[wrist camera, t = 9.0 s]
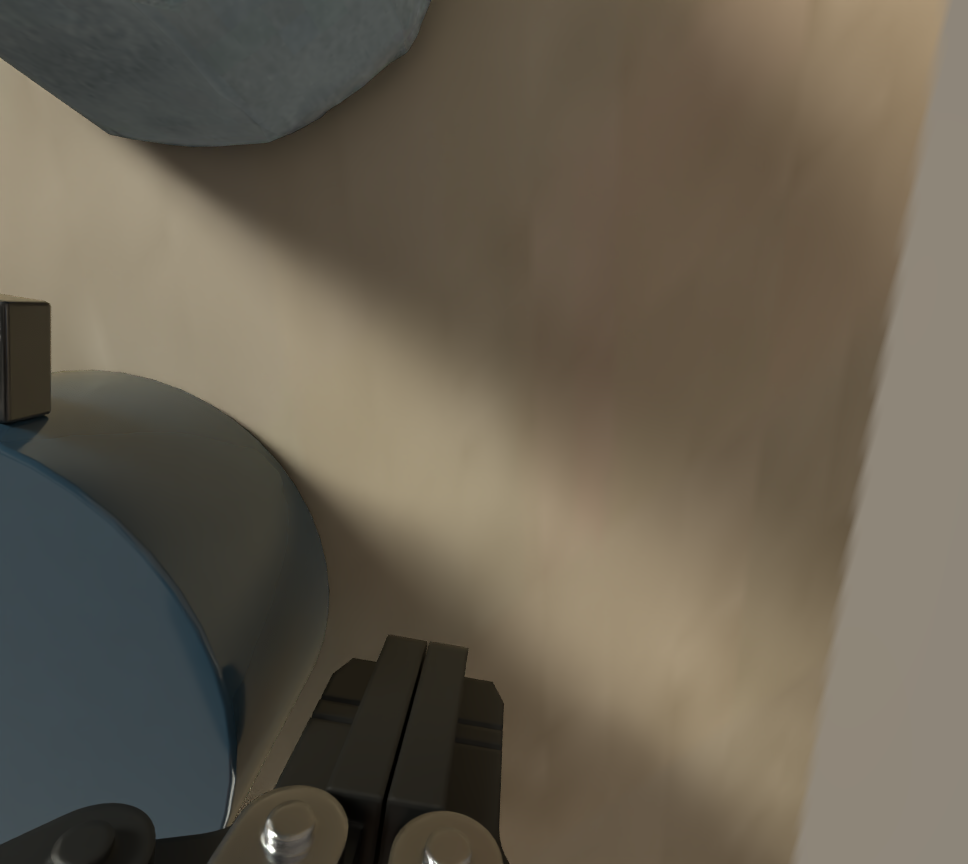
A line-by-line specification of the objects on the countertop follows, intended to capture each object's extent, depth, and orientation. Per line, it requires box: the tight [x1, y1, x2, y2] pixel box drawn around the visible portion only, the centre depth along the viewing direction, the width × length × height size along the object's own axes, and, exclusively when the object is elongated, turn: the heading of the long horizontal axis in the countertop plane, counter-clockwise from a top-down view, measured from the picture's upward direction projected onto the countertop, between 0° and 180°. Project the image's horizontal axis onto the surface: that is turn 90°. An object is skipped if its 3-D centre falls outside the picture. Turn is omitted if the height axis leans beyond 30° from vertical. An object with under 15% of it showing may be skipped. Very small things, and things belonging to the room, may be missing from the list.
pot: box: [0, 294, 329, 845], centre depth 10 cm, size 9×12×4 cm
